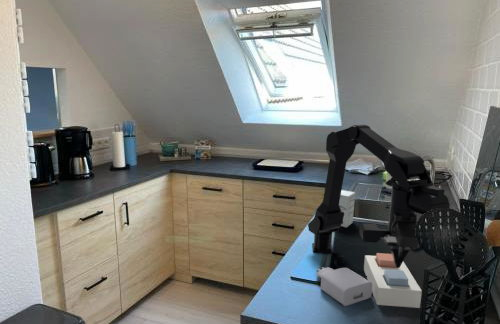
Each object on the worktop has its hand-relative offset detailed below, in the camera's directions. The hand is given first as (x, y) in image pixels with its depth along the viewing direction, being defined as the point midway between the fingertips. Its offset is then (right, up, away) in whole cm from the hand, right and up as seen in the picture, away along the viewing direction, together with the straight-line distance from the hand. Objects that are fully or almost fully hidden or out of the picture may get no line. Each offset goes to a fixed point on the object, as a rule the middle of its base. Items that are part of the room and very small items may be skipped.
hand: (397, 267), depth 94 cm
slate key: (0, -6, +1) cm, 6 cm away
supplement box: (-1, +2, +54) cm, 54 cm away
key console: (0, -7, +7) cm, 10 cm away
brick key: (+1, -4, +11) cm, 12 cm away
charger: (-14, -8, +6) cm, 17 cm away
